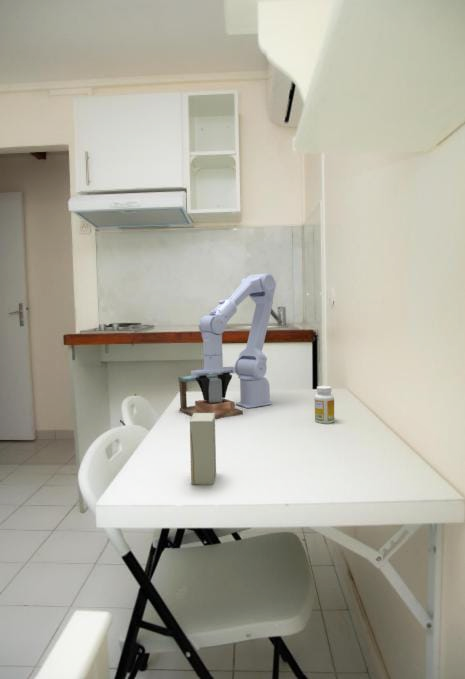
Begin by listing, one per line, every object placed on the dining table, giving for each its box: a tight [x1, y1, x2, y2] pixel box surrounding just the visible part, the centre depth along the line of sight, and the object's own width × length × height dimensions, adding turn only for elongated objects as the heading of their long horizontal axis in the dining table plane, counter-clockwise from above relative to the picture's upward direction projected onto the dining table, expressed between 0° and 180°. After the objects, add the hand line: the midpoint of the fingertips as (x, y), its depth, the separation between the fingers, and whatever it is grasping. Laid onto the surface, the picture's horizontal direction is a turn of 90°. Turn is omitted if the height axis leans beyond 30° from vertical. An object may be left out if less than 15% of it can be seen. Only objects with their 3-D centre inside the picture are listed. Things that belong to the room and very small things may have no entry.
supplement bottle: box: [314, 385, 335, 424], centre depth 123 cm, size 5×5×10 cm
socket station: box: [178, 373, 244, 420], centre depth 137 cm, size 14×16×11 cm
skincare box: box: [189, 413, 217, 485], centre depth 83 cm, size 6×4×12 cm
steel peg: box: [208, 378, 222, 405], centre depth 134 cm, size 4×4×9 cm
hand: (214, 398), depth 134 cm, fingers closed on steel peg, 5 cm apart
